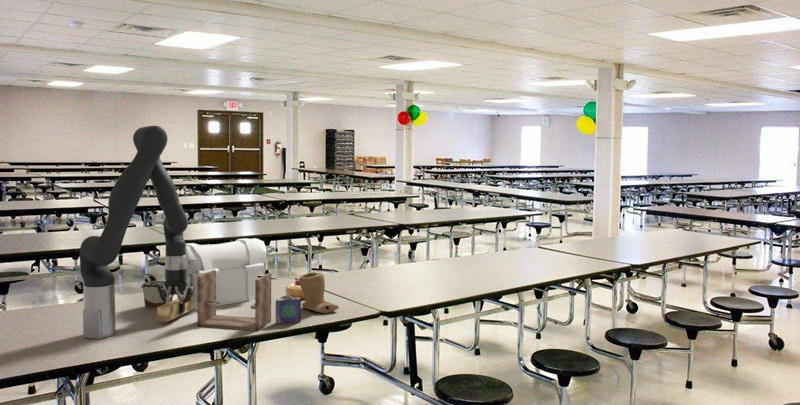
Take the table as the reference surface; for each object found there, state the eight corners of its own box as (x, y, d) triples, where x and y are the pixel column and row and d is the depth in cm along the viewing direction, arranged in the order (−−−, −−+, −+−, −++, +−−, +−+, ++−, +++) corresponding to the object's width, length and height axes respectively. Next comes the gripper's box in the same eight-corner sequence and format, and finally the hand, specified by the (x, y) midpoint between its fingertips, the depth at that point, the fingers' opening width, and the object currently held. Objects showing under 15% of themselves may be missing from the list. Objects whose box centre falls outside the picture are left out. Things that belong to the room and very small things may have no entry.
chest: (245, 289, 274) (245, 234, 272) (271, 299, 257) (272, 241, 255) (168, 301, 250) (167, 241, 248) (192, 312, 234) (191, 249, 232)
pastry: (304, 293, 270) (305, 273, 270) (318, 298, 261) (319, 277, 261) (280, 296, 263) (281, 276, 262) (294, 301, 253) (294, 280, 253)
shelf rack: (258, 330, 212) (258, 280, 211) (197, 326, 216) (197, 276, 214) (271, 321, 224) (271, 273, 223) (213, 317, 228) (212, 270, 226)
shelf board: (167, 321, 216) (167, 307, 216) (157, 320, 217) (157, 307, 216) (192, 309, 234) (192, 296, 233) (183, 308, 234) (183, 295, 234)
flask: (275, 324, 220) (276, 295, 220) (274, 322, 223) (275, 293, 222) (301, 322, 223) (301, 294, 222) (300, 320, 226) (300, 292, 225)
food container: (178, 305, 243) (178, 281, 242) (171, 309, 237) (171, 284, 236) (149, 304, 244) (149, 279, 243) (141, 308, 238) (141, 283, 237)
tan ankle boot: (293, 308, 243) (293, 271, 242) (318, 304, 251) (319, 268, 249) (313, 316, 232) (314, 278, 230) (339, 312, 239) (340, 274, 238)
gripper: (152, 267, 221) (152, 314, 223) (188, 270, 219) (188, 316, 220) (163, 264, 229) (163, 309, 230) (198, 266, 226) (198, 311, 228)
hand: (175, 312), depth 225 cm, fingers closed on shelf board, 4 cm apart
